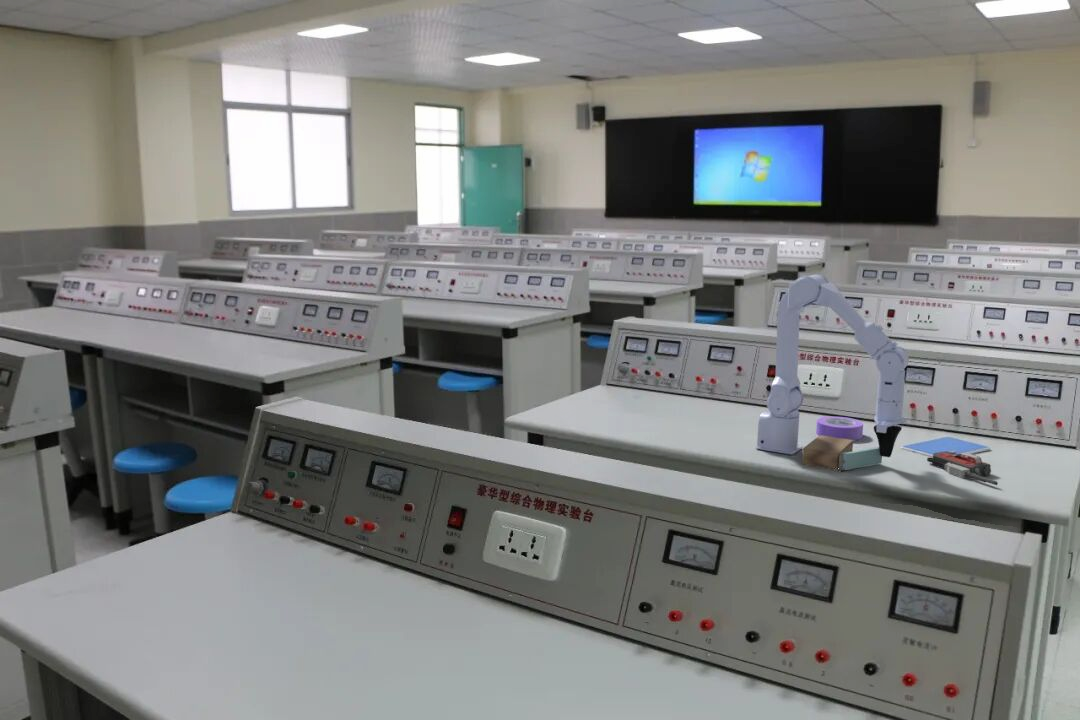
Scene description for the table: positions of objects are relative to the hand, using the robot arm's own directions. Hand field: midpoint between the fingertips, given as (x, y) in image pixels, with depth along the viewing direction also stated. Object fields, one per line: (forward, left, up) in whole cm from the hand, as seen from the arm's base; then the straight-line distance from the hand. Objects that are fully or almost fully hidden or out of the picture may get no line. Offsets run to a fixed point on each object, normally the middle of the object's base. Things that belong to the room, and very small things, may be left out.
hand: (885, 456), depth 205 cm
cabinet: (-13, -2, -2) cm, 13 cm away
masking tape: (-17, +24, -3) cm, 29 cm away
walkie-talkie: (+17, +5, -3) cm, 18 cm away
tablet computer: (+9, +25, -3) cm, 27 cm away
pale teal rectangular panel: (-4, -4, -2) cm, 6 cm away
